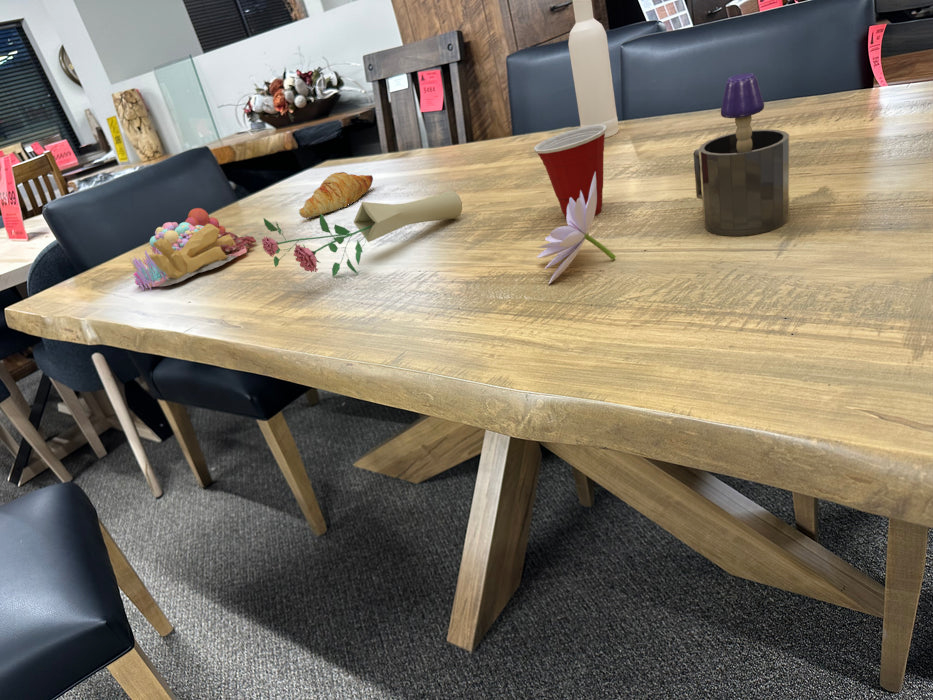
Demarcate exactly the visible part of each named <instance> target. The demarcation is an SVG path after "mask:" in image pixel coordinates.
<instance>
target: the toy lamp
mask: <svg viewBox="0 0 933 700" xmlns="http://www.w3.org/2000/svg"><path fill="white" fill-rule="evenodd" d="M764 108H765V102H764V99H763V96H762V92H761V89H760V86H759V82H758V78H757V76H756V75H755V73H752V72H745V73H740V74H739V73H738V74H735V75H733V76H730V77H729V78H728V79H727V81H726V83H725V87H724V92H723V98H722V103H721V108H720V116H721V117H722V118H725V119H734V123H735V126H736V129H735V133H736V137H737V139H738V141H737V151H738V153H740V152H747V151H751V149H752V139H751V135H752V130H753V128H752V125H751V123H752V120H753V119H752V118H753V117H752V116H753V115H756V114H759V113H761V112H763V110H764Z"/></svg>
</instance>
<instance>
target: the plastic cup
mask: <svg viewBox="0 0 933 700" xmlns="http://www.w3.org/2000/svg"><path fill="white" fill-rule="evenodd" d="M606 127H607V126H604V125H592V126H587V127H582V128H581V127H578V128H574V129H571V130H568V131H565V132H561V133H558V134H556V135H554V136H551V137H549V138H547V139H544V140H542V141H541V142H539V143H538V144H536V145H535V146H534V148H533V151H534V153H536V154H537V155H538V156H539V158H540V160H541V161H542V163H543V166H544V167H545V170H546V172H547V176H548V178H549V181H550V183H551V186H552V188H553V191H554V194H555V197H556V198H557V201H558V203H559V206H560V209H561V212H562V214H563V215H564V218H566V216H567V206H568V204H569V199H570V197H571V198H572V199H573V200H574V201H575V202H576V201H577V199H578V198H579V197H580V190H581V192H582V194H583V197H584V200H585V205H586V204H587V201H588V198H589V192H590V187H591V183H592V180H593V176H594V173H595V172H596V190H597V204H596V211H595V215H594V216H596V215H598V214H600V213H601V212H602V209H603V208H602V207H603V194H604V193H603V189H604V157H605V156H604V151H605V138H604V136H605V132H606Z"/></svg>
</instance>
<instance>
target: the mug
mask: <svg viewBox="0 0 933 700" xmlns="http://www.w3.org/2000/svg"><path fill="white" fill-rule="evenodd" d="M751 139H752V149H751V151H747V152H740V153H738V151H737V141H738V139H737V137H736V132H731V133H728V134H724V135H721V136H717V137H714V138H712V139H709V140H707V141H706V142H704V143H702V144H701V145H700V146H699V148H696V149H695V150H694V151H693V155H692V156H693V166H694V168H693V169H694V183H695V195H696V198H697V199H698V200H701V202H702V203H701V205H702V216H703V217H702V218H703V227H704V229H705V230H706V231H707V232H709V233H711V234H714V235H719V236H725V237H746V236H747V237H748V236H754V235H759V234H763V233H764V234H765V233H768V232H771V231H773V230H776V229H778V228H780V227H782V226H784V225H785V224H786V223H787V222H788V221H789V218H790V134H789V133H788V132H786V131H785V130H781V129H768V128H767V129H766V128H765V129H752V135H751Z"/></svg>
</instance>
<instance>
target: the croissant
mask: <svg viewBox="0 0 933 700" xmlns="http://www.w3.org/2000/svg"><path fill="white" fill-rule="evenodd" d="M373 181H374V177H373V175H371V174H367V175H365V174H360V175H359V174H358V175H357V174H352V173H351V174H349V173H347V172H345V171H340V172H334V173H331V174H330V175H328V176H327V177H326V178H325V179H324V180H323V181H322V182H321V184H320V186H319V187H317V188H316V189H315V190H314V191H313V194H312V195H311V197H309V198H307V199H306V201H305V202H304V204H303V205H304V206H303V207H301V208H300V209H298V210H299V211H298V214H299V216H300V217H302V218H303V219H309V218H314V217H318V216H321V213H322V215H325V214H328V213H331V212H335V211H338V210H341V209H340V208H342V209H344V208H346V207H348V206H349V205H348V204H350V205H352V204H351V203H353V202H354V203H356V202H357V201H358V200H359V199H361V197H362V196H364V195H365V194H367V192H369V190H370V189H371V187H372V184H373ZM354 203H353V204H354ZM347 205H348V206H347ZM343 207H344V208H343ZM337 209H338V210H337Z"/></svg>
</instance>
